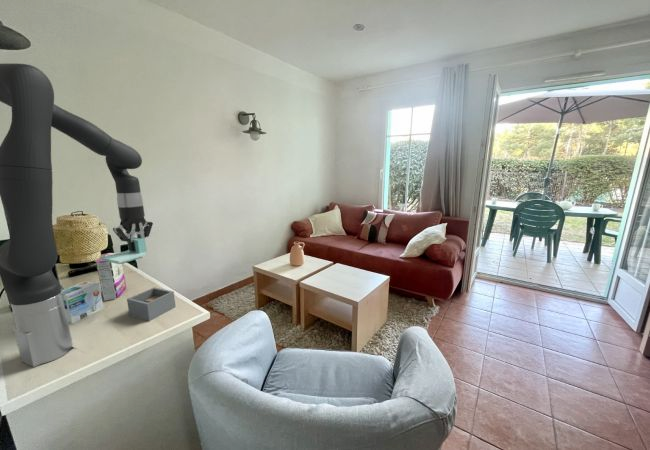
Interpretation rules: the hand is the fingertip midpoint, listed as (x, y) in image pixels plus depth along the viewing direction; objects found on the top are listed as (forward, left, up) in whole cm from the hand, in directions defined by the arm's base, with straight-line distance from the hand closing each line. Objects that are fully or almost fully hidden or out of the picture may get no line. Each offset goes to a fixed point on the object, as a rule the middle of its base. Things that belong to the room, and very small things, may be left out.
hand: (137, 249), depth 100 cm
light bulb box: (-16, +9, -21) cm, 28 cm away
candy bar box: (-1, +16, -21) cm, 26 cm away
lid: (-5, 0, -2) cm, 5 cm away
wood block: (-4, -10, -20) cm, 23 cm away
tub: (-6, -12, -21) cm, 25 cm away
